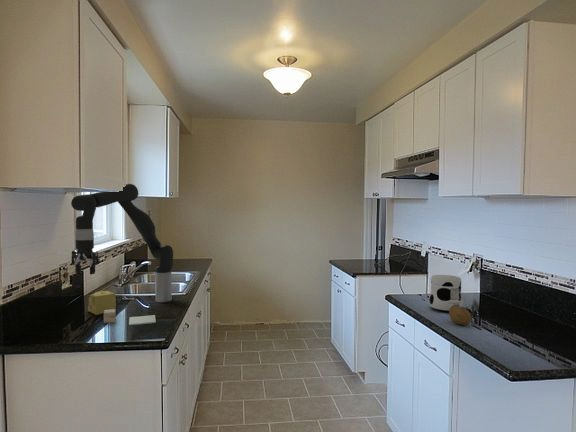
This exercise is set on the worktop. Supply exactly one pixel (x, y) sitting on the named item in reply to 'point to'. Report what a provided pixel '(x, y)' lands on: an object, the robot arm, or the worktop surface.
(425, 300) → the worktop surface
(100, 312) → the cheese
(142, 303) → the worktop surface
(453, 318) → the potato
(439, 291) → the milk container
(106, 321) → the oak block
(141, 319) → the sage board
